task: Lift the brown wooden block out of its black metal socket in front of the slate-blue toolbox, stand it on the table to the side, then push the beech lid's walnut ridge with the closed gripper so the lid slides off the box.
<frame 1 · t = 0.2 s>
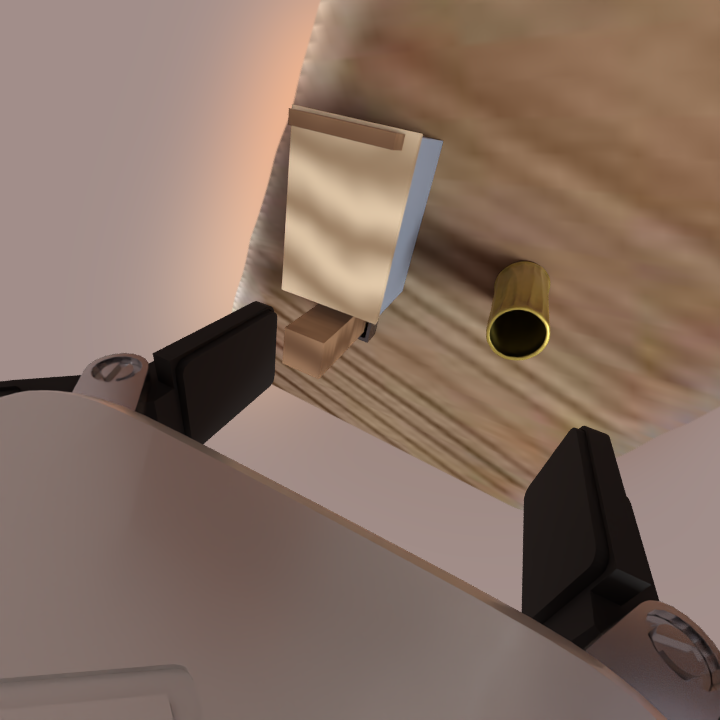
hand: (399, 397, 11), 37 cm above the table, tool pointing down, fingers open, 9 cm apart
lid: (334, 227, 35), point 12 cm above the table, slide at 0.0 cm
brown wooden block: (333, 326, 46), in the socket
toolbox: (376, 212, 45), on the table
vase: (521, 285, 42), on the table
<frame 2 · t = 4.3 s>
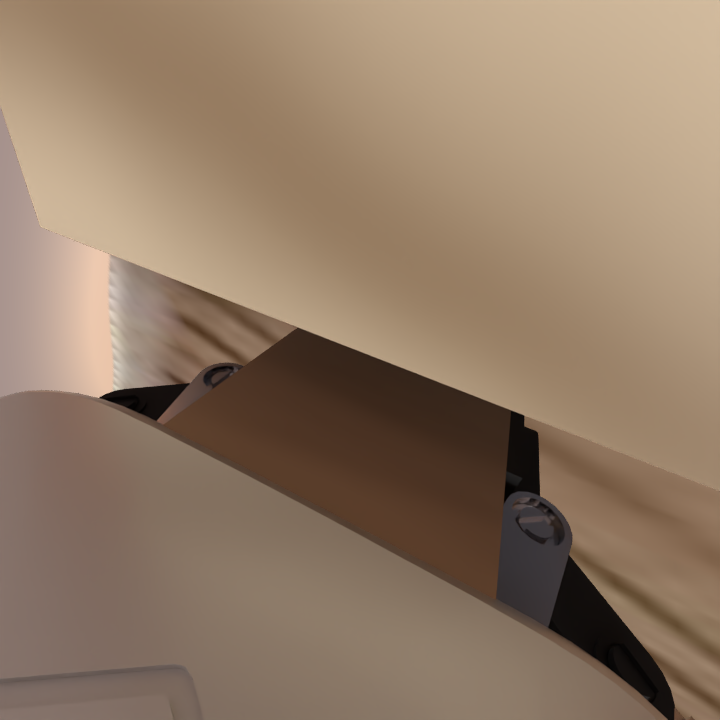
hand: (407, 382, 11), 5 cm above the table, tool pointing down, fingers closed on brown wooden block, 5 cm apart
brown wooden block: (380, 430, 9), in the socket, touching gripper
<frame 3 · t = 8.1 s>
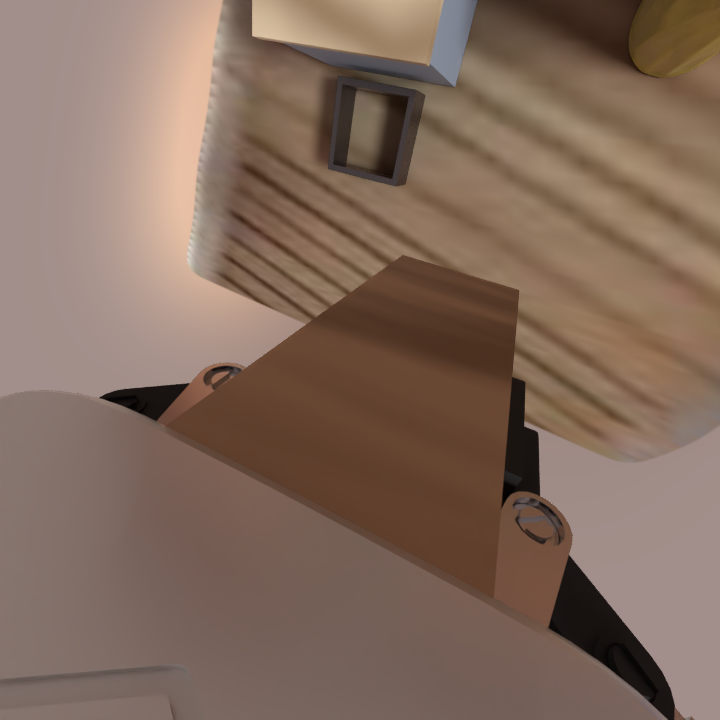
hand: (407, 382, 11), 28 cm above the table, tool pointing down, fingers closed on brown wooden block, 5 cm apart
socket: (379, 134, 34), on the table
brown wooden block: (380, 432, 9), point 31 cm above the table, touching gripper
vase: (683, 20, 23), on the table
when the fingers open (7 cm above the table, at t = 12.2 s): brown wooden block drops 1 cm, on the table.
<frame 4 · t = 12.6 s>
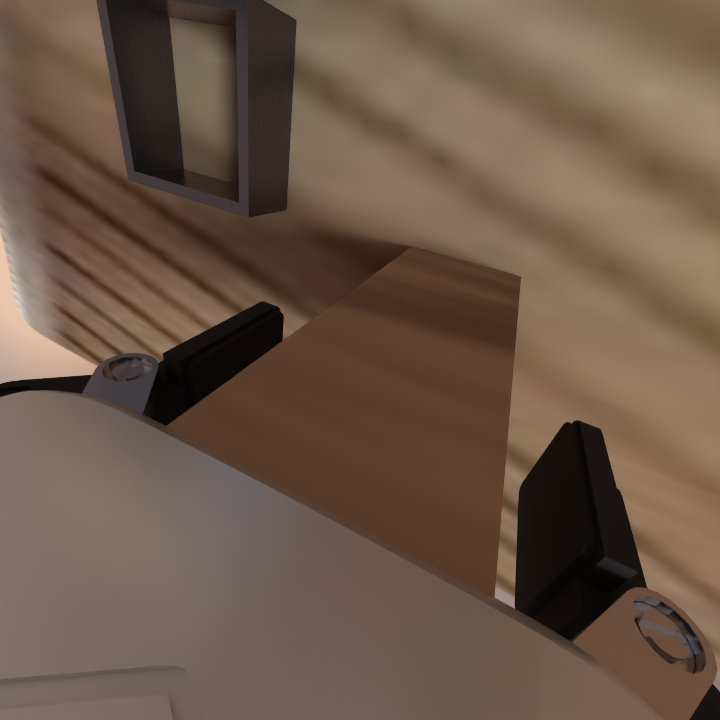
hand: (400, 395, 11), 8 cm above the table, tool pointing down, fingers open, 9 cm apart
socket: (226, 112, 17), on the table
brown wooden block: (397, 401, 11), on the table
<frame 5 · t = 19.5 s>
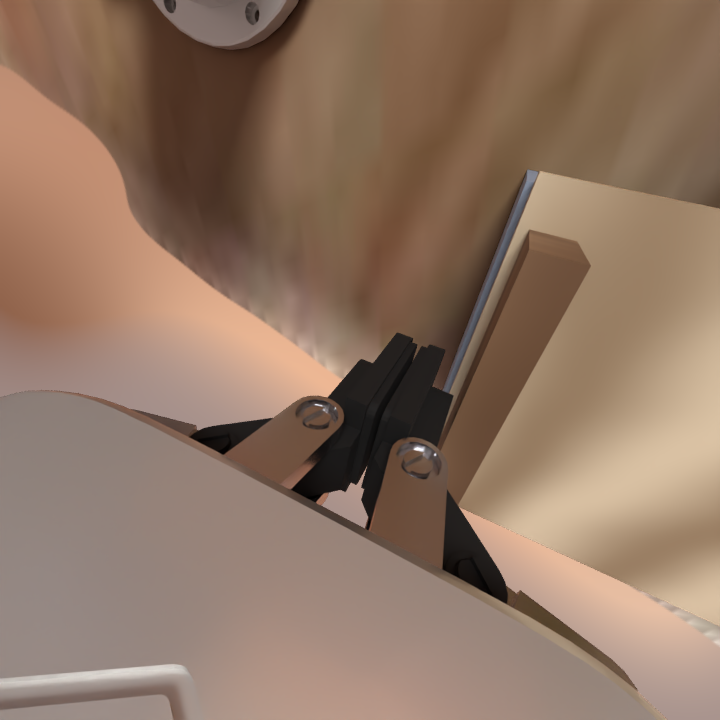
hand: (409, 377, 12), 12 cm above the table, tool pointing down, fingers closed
toolbox: (649, 329, 19), on the table
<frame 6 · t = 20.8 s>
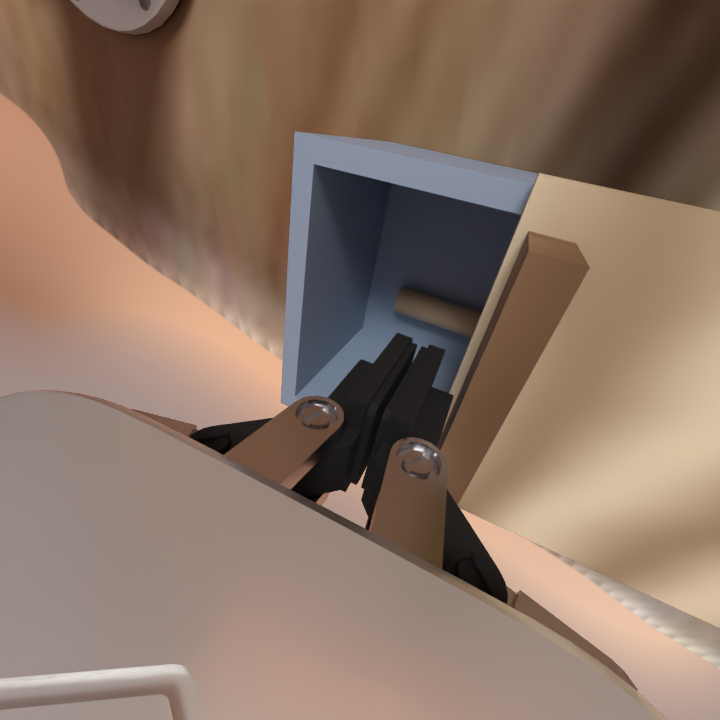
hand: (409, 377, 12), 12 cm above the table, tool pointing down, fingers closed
toolbox: (509, 289, 21), on the table
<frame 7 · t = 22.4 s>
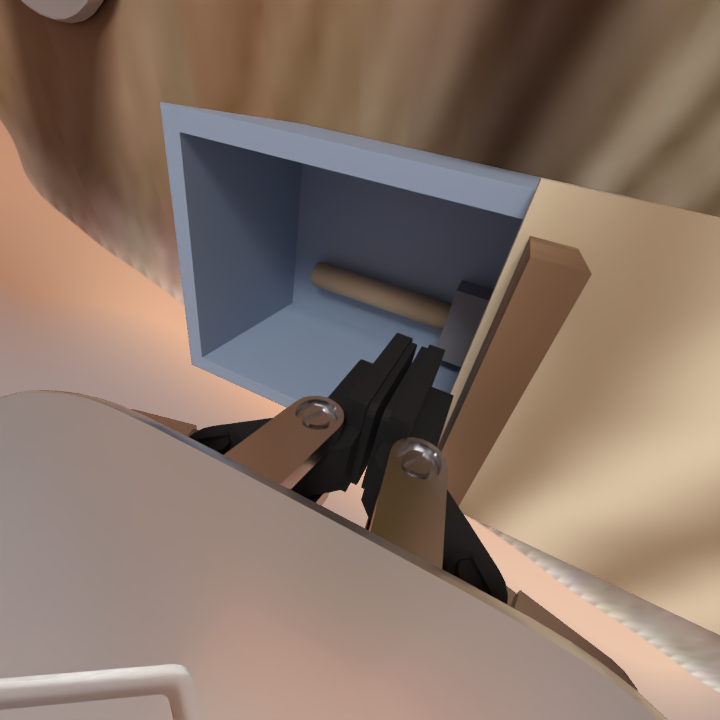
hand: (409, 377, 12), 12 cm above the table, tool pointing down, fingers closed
toolbox: (417, 264, 22), on the table
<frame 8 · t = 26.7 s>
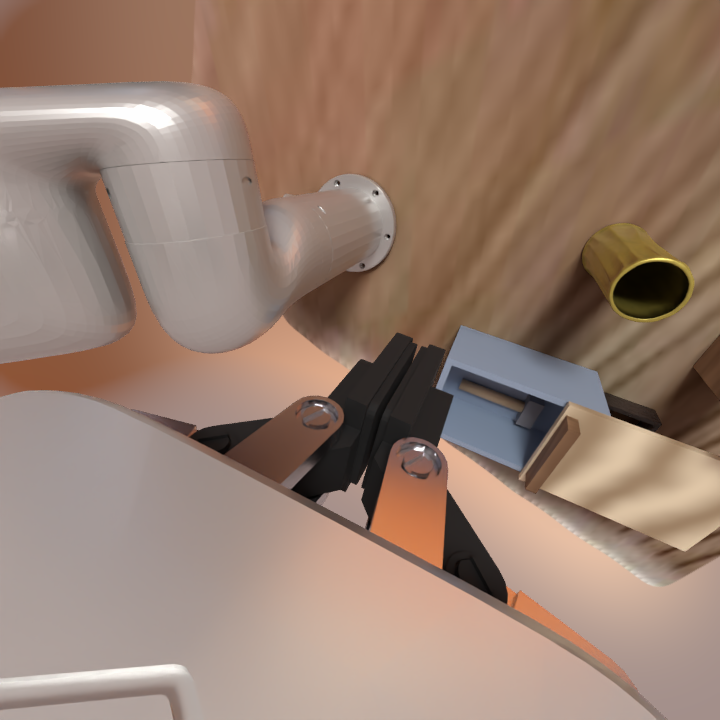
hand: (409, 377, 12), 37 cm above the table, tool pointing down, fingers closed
socket: (608, 419, 47), on the table
lid: (631, 486, 37), point 12 cm above the table, slide at 13.8 cm
toolbox: (507, 382, 50), on the table
vase: (614, 252, 38), on the table
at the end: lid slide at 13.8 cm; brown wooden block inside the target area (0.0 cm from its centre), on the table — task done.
